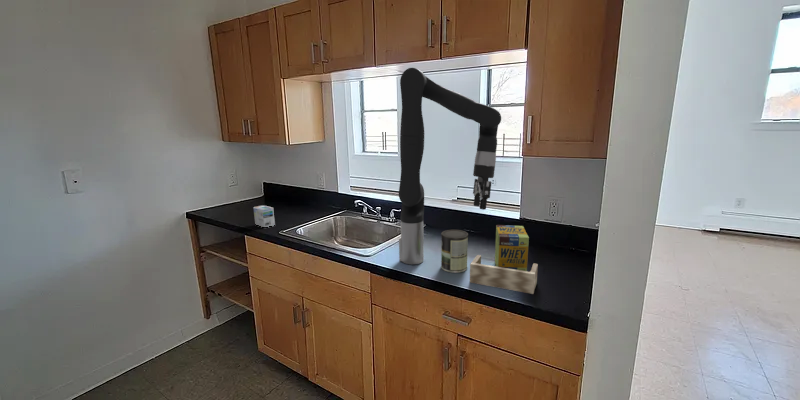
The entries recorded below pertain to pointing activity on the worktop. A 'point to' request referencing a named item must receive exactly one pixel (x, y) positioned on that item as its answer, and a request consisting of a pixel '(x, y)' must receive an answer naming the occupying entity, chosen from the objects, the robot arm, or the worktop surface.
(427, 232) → the worktop surface
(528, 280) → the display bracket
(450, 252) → the coffee can
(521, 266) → the protein box
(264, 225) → the light bulb box
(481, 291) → the worktop surface
